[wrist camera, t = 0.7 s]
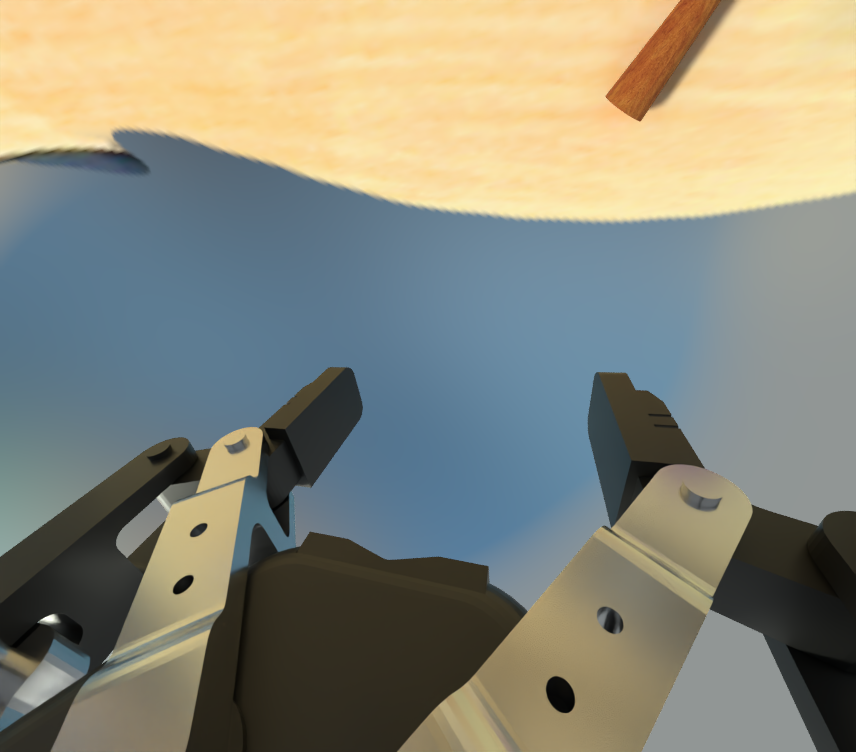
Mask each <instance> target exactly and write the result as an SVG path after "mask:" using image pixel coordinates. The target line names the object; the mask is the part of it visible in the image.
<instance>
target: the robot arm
mask: <svg viewBox="0 0 856 752" xmlns="http://www.w3.org/2000/svg"><path fill="white" fill-rule="evenodd" d="M362 409H363V406H362V401H361V397H360V393H359V390H358V386H357V383H356V379H355V376H354V373H353V371H352V369H351V368H347V367H346V368H345V367H341V368H340V367H330V368H328V369H327V370H325V371H324V372H323V373H322V374H321V375H320V376H319V377H318V378H317V379H316V380H315V381H314V382H312V383H310V384H309V385H307V386H305V387H303V388H302V389H301V390H300V391H299V392H298V393H297V394H296V395H295V397H293V398H291V399H290V400H289V401H288V402H287V405H284V406H282V408H280V409H279V410H278V411H277V412H276V413H275V414H274V415H273V416H271V418H269V419H268V420H267V421H266V422H265V423H264V424H263V425H262V426H260V427H259V428H256V427H248V428H243V429H239V430H236V431H234V432H232V433H230V434H228V435H226V436H224V437H223V438H221V439H220V440H219V441H217V442H216V443H215V444H214V445H213V447H212V448H210V449H204V450H198V451H195V450H194V448H193V447H192V445H191V443H190V442H189V440H188V439H186V438H182V437H181V438H180V437H179V438H173V439H169V440H166V441H163V442H160V443H158V444H156V445H154V446H152V447H150V448H149V449H147V450H145V451H144V452H142V453H141V454H140V455H138V456H137V457H136V458H134V459H133V460H132V461H130V462H129V463H128V464H126V465H125V466H124V467H122V468H121V469H119V470H118V471H117V472H115V473H114V474H112V475H111V476H110V477H108V478H107V479H106V480H104V481H103V482H102V483H100V484H99V485H98V486H96V487H95V488H94V489H92V490H91V491H89V492H88V493H87V494H85V495H84V496H83V497H81V498H80V499H78V500H77V501H76V502H75V503H73V504H72V505H70V506H69V507H68V508H66V509H65V510H63V511H62V512H61V513H60V514H58V515H57V516H55V517H54V518H53V519H51V520H50V521H48V522H47V523H46V524H44V525H43V526H42V527H41V528H39V529H38V530H36V531H35V532H33V533H32V534H31V535H29V536H28V537H27V538H25V539H24V540H23V541H22V542H20V543H19V544H17V545H16V546H15V547H13V548H12V549H10V550H9V551H8V552H6V553H5V554H4V555H2V556H1V557H0V752H641V751H642V749H643V747H644V745H645V743H646V741H647V739H648V737H649V735H650V733H651V731H652V728H653V726H654V724H655V722H656V720H657V718H658V716H659V714H660V712H661V710H662V708H663V705H664V703H665V701H666V699H667V697H668V695H669V693H670V691H671V689H672V687H673V684H674V682H675V680H676V678H677V676H678V674H679V672H680V670H681V668H682V666H683V663H684V661H685V659H686V657H687V655H688V653H689V651H690V649H691V647H692V644H693V642H694V640H695V638H696V636H697V634H698V632H699V630H700V628H701V625H702V624H703V622H704V620H705V617H706V615H707V613H708V611H709V609H710V610H713V611H715V612H717V613H719V614H721V615H724V616H726V617H728V618H730V619H732V620H734V621H736V622H739V623H741V624H743V625H745V626H747V627H749V628H752V629H754V630H756V631H758V632H761V633H763V635H764V637H765V640H766V642H767V644H768V646H769V648H770V650H771V652H772V654H773V657H774V659H775V661H776V663H777V665H778V667H779V669H780V672H781V674H782V676H783V678H784V680H785V682H786V685H787V687H788V689H789V691H790V693H791V695H792V698H793V700H794V702H795V704H796V706H797V708H798V710H799V713H800V715H801V717H802V719H803V721H804V723H805V726H806V728H807V730H808V732H809V734H810V736H811V738H812V741H813V743H814V745H815V747H816V749H817V751H818V752H856V512H854V511H838V512H833V513H831V514H828V515H827V516H826V517H825V518H824V519H823V520H822V522H821V523H820V524H819V526H816V525H813V524H810V523H807V522H803V521H800V520H797V519H793V518H790V517H787V516H784V515H780V514H777V513H773V512H771V511H767V510H765V509H762V508H759V507H756V506H754V505H751V503H750V501H749V499H748V498H747V496H746V495H745V494H744V493H743V491H742V490H741V489H739V488H738V487H737V486H736V485H735V484H733V483H732V482H730V481H729V480H727V479H725V478H724V477H722V476H720V475H718V474H716V473H714V472H712V471H709V470H707V469H705V468H704V466H703V465H702V463H701V461H700V460H699V459H698V457H697V455H696V453H695V452H694V450H693V449H692V447H691V445H690V444H689V442H688V441H687V439H686V437H685V436H684V434H683V433H682V431H681V429H678V425H677V423H676V422H675V420H674V418H672V417H671V413H670V412H669V410H668V409H667V407H666V405H665V404H664V402H663V401H661V400H660V399H659V398H657V397H656V396H654V395H653V394H652V393H650V392H649V391H641V390H635V388H634V386H633V384H632V382H631V380H630V379H629V377H628V375H627V374H626V373H609V372H608V373H607V372H597V373H596V374H595V376H594V381H593V388H592V394H591V401H590V407H589V414H588V434H589V439H590V442H591V447H592V451H593V455H594V459H595V463H596V467H597V471H598V475H599V480H600V484H601V488H602V492H603V495H604V500H605V504H606V508H607V512H608V517H609V521H610V525H611V529H609V528H608V527H606V526H602V527H601V528H600V529H598V530H597V531H596V532H595V533H594V534H593V535H592V537H591V538H590V539H589V540H588V541H587V542H586V544H585V545H584V546H583V547H582V549H581V550H580V551H579V552H578V553H577V554H576V555H575V557H574V558H573V559H572V560H571V562H570V563H569V564H568V565H567V566H566V567H565V568H564V570H563V571H562V572H561V573H560V574H559V576H558V577H557V578H556V579H555V581H554V582H553V583H552V584H551V585H550V586H549V587H548V589H547V590H546V591H545V592H544V593H543V594H542V596H541V597H540V598H539V599H538V600H537V602H536V603H535V604H534V605H533V606H532V607H531V609H530V610H529V611H527V610H526V609H525V608H524V607H523V606H522V605H520V604H519V603H518V602H517V601H516V600H515V599H513V598H512V597H511V596H510V595H508V594H507V593H505V592H504V591H502V590H501V589H499V588H497V587H495V586H493V585H492V584H490V583H489V568H488V566H484V565H478V564H474V563H469V562H464V561H458V560H453V559H448V558H443V557H427V558H413V559H400V560H386V559H383V558H381V557H380V556H378V555H376V554H374V553H372V552H371V551H369V550H367V549H365V548H363V547H361V546H360V545H358V544H356V543H354V542H353V541H351V540H349V539H345V538H340V537H334V536H330V535H324V534H319V533H314V532H309V534H308V536H307V537H306V539H305V540H304V542H303V544H302V545H301V546H300V547H296V535H295V500H294V495H293V493H292V491H291V490H292V489H293V488H294V486H295V485H296V486H303V487H310V488H311V487H312V486H313V484H314V483H315V482H316V480H317V479H318V477H319V476H320V475H321V473H322V472H323V470H324V469H325V468H326V466H327V465H328V463H329V462H330V461H331V459H332V457H333V456H334V455H335V453H336V452H337V451H338V449H339V448H340V446H341V445H342V444H343V442H344V441H345V439H346V438H347V437H348V435H349V434H350V432H351V431H352V429H353V428H354V427H355V425H356V424H357V422H358V421H359V420H360V418H361V415H362ZM154 499H157V500H158V501H159V503H160V504H161V505H162V506H163V508H164V509H165V510H166V511H167V512H168V516H167V519H166V520H165V521H164V522H163V523H162V524H161V525H160V526H159V527H158V528H157V529H156V530H155V531H154V532H153V533H152V534H151V535H150V536H149V537H148V538H147V539H146V540H145V541H144V542H143V543H142V544H141V545H140V546H139V547H138V548H137V549H136V550H135V551H134V552H133V553H132V554H131V555H130V556H129V557H128V558H126V557H125V556H124V555H123V554H122V553H121V552H120V551H119V550H118V549H117V546H116V539H117V536H118V534H119V532H120V531H121V530H122V528H123V527H124V526H125V525H126V524H128V523H129V522H130V521H131V520H132V519H133V518H134V517H135V516H136V515H138V513H140V512H141V511H142V510H143V509H144V508H145V507H147V506H148V505H149V504H150V503H151V502H152V501H153V500H154ZM38 621H39V623H37V622H38ZM112 651H113V653H112V655H111V656H110V658H109V660H108V661H106V662H104V663H103V661H104V660H105V659H106V658H107V657H108V656H109V654H110V653H111V652H112ZM102 663H103V664H102Z"/></svg>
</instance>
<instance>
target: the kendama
mask: <svg viewBox="0 0 856 752" xmlns="http://www.w3.org/2000/svg"><path fill="white" fill-rule="evenodd" d="M720 1H721V0H680V2H679V3H678V4H677V5H676V7H675V8H674V9H673V11H672V12H671V13H670V14H669V16H668V17H667V18H666V20H665V21H664V22H663V23H662V25H661V26H660V27H659V29H658V30H657V31H656V32H655V34H654V35H653V36H652V37H651V39H650V40H649V41H648V43H647V44H646V45H645V46H644V48H643V49H642V50H641V52H640V53H639V54H638V55H637V57H636V58H635V59H634V60H633V62H632V63H631V64H630V66H629V67H628V68H627V69H626V71H625V72H624V73H623V75H622V76H621V77H620V78H619V80H618V81H617V82H616V84H615V85H614V86H613V87H612V89H611V90H610V91H609V92H608V94H607V95H606V98H607V99H608V100H609V101H610V102H611V103H612V104H614V105H615V106H616V107H617V108H619V109H620V110H621V111H623V112H624V113H626V114H627V115H629V116H630V117H632V118H634V119H636V120H638V121H641V120H642V119H643V117H644V116H645V114H646V113H647V111H648V110H649V108H650V107H651V105H652V104H653V102H654V101H655V99H656V98H657V96H658V95H659V93H660V91H661V90H662V88H663V87H664V85H665V84H666V82H667V81H668V79H669V78H670V76H671V75H672V73H673V72H674V70H675V69H676V67H677V66H678V64H679V63H680V61H681V60H682V58H683V57H684V55H685V54H686V52H687V51H688V49H689V48H690V46H691V45H692V43H693V42H694V40H695V39H696V37H697V36H698V34H699V33H700V31H701V30H702V28H703V27H704V25H705V24H706V22H707V21H708V19H709V18H710V16H711V15H712V13H713V12H714V10H715V9H716V7H717V6H718V4H719V3H720Z"/></svg>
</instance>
